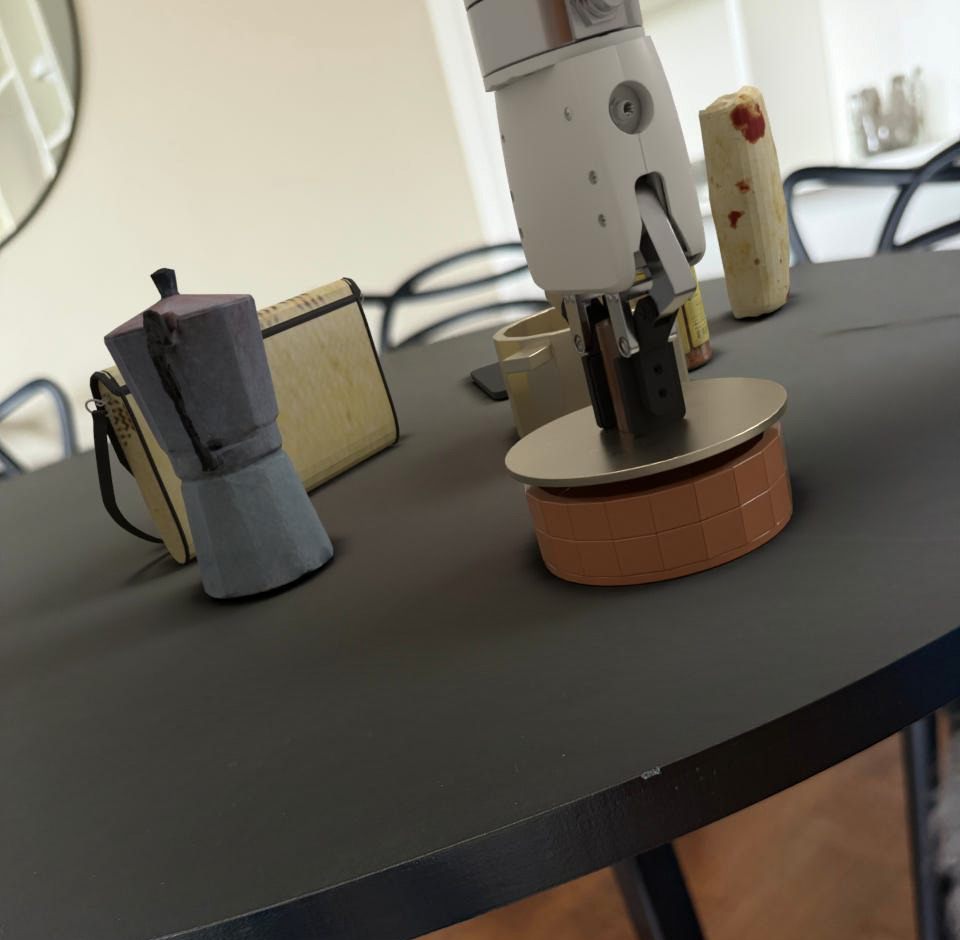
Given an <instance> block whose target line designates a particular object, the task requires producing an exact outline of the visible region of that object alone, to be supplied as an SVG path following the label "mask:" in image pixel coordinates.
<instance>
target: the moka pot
mask: <svg viewBox="0 0 960 940" xmlns="http://www.w3.org/2000/svg"><path fill="white" fill-rule="evenodd" d="M149 277H150V278H151V280H152V282H153V284H154V286H155V287H156V289H157V291H158V294H159V295H160V299H159V300H157V301H156V302H155V303H153V304H152V305H150V306H149V307H147V308H146V309H144V310H142V311H141V312H140V313H138V314H136V315H135V316H133V317H131V318H129V319H128V320H127V321H125V322H123V323H122V324H120V325H118V326H116V328H114V329H113V330H111V331H109V332H108V333H107V334H105V335H104V336H103V343H104V345H105V347H106V349H107V351H108V353H109V355H110V356H111V358H112V360H113V362H114V363H115V365H116V366H117V367H118V369H119V371H120V373H121V375H122V377H123V379H124V381H125V383H126V385H127V387H128V388H129V390H130V392H131V394H132V396H133V398H134V400H135V401H136V403H137V405H138V407H139V409H140V411H141V413H142V415H143V416H144V418H145V420H146V422H147V424H148V426H149V428H150V430H151V432H152V434H153V435H154V437H155V439H156V441H157V443H158V444H159V446H160V448H161V449H162V450H163V451H164V452H165V453H166V454H167V455H168V457H169V460H170V462H171V465H172V467H173V470H174V472H175V475H176V476H177V477H178V478H179V479H181V481H182V482H181V493H182V497H183V500H184V504H185V509H186V514H187V518H188V522H189V526H190V530H191V534H192V538H193V543H194V547H195V552H196V556H195V557H196V560H197V564H198V568H199V572H200V576H201V581H202V585H203V589H204V593H206V594H207V595H208V596H209V597H211V598H214V599H221V600H225V599H235V598H240V597H244V596H251V595H257V594H260V593H265V592H266V593H267V592H270V591H271V590H273V589H274V590H275V589H277V588H279V587H281V586H284V585H288V584H289V583H292V582H294V581H297V580H298V579H300V578H302V577H304V576H306V575H308V574H310V573H312V572H314V571H316V570H317V569H319V568H321V567H322V566H323V565H324V564H326V563H328V562H329V561H330V560H331V559H332V557H333V556H334V547H333V545H332V542H331V540H330V537H329V535H328V533H327V531H326V529H325V527H324V524H323V523H322V522H321V520H320V517H319V515H318V513H317V510H316V508H315V506H314V505H313V503H312V501H311V499H310V497H309V495H308V492H307V493H306V491H305V489H304V486H303V484H302V482H301V480H300V478H299V476H298V474H297V472H296V470H295V468H294V466H293V464H292V462H291V460H290V458H289V456H288V454H287V453H286V451H284V450H282V449H281V447H282V442H283V440H282V437H281V434H280V431H279V428H278V424H277V421H276V418H277V416H278V415H279V410H278V405H277V400H276V395H275V391H274V387H273V382H272V378H271V373H270V369H269V365H268V361H267V356H266V351H265V346H264V342H263V337H262V332H261V328H260V323H259V319H258V314H257V311H258V309H257V304H256V301H255V297H253V295H252V294H250V293H180V292H179V289H178V281H177V275H176V270H175V269H172V268H168V267H161V268H159V269H156V270H155V271H154V272H153V273H150V275H149Z"/></svg>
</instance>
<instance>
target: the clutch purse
mask: <svg viewBox="0 0 960 940" xmlns="http://www.w3.org/2000/svg"><path fill="white" fill-rule="evenodd" d="M361 297H362V298H361ZM360 299H361V300H360ZM364 300H365V296H364V293H363V292H362V290H361V288H360V287H359V286H358V284H357V283H356V281H354V279H352V278H350V277H346V276H345V277H344V276H343V277H342V278H341V279H338V280H335V281H332V282H330V283H327V284H325V285H322V286H319V287H317V288H314V289H312V290H308V291H306V292H303V293H301V294H298V295H295V296H293V297H290V298H287V299H285V300H282V301H279V302H277V303H274V304H272V305H270V306H267V307H264V308H261V309H259V310H257V314H258V319H259V323H260V328H261V332H262V337H263V342H264V346H265V351H266V356H267V361H268V365H269V369H270V373H271V378H272V382H273V387H274V391H275V395H276V400H277V405H278V410H279V415H278V416H277V418H276V421H277V424H278V428H279V431H280V434H281V437H282V440H283V442H282V447H281V449H282V450H284V451H286V453H287V454H288V456H289V458H290V460H291V462H292V464H293V466H294V468H295V470H296V472H297V474H298V476H299V478H300V480H301V482H302V484H303V486H304V489H305V491H306V493H307V494H308V493H309V492H311V491H312V490H314V489H316V488H317V487H320V485H321V486H322V484H324V483H326V482H328V481H329V480H331V479H333V478H335V477H337V476H338V475H340V474H342V473H344V472H345V471H347V470H348V469H351V468H352V467H354V466H356V465H358V464H359V463H361V462H363V461H365V460H366V459H368V458H369V457H371V456H373V455H375V454H377V453H378V452H381V451H382V450H383V449H385V448H387V447H388V446H391V445H393V446H394V445H396V444H398V442H399V440H400V436H401V435H400V425H399V418H398V416H397V411H396V408H395V405H394V401H393V398H392V394H391V391H390V388H389V385H388V382H387V380H386V376H385V373H384V370H383V367H382V363H381V361H380V357H379V354H378V351H377V348H376V344H375V341H374V337H373V335H372V331H371V329H370V326H369V322H368V319H367V316H366V313H365V311H364V307H363V304H364ZM89 388H90V393H91V396H92V398H90V399H87V400H86V401H85V402H84V408H85V410H86V411H87V412H88V413H89V414H91V418H92V435H93V436H92V437H93V445H94V454H95V463H96V470H97V478H98V483H99V484H98V485H99V489H100V495H101V499H102V504H103V507H104V508H105V510H106V512H107V513H108V515H109V516H110V517H111V519H112V520H113V521H114V522H115V523H116V525H118V526H119V527H120V528H122V529H123V530H124V531H126V532H127V533H129V534H130V535H133V536H134V537H137V538H139V539H141V540H143V541H146V542H149V543H153V544H160V545H161V544H162V545H163V544H164V545H165V547H166V549H167V550H168V552H169V553H170V555H171V556H172V557H173V559H174V560H175V561H176V562H178V563H179V564H181V565H183V566H186V565H187V564H189V563H190V562H191V561H190V560H192V559H193V558H195V557H197V556H196V552H195V547H194V543H193V538H192V534H191V530H190V526H189V522H188V518H187V514H186V509H185V504H184V500H183V497H182V493H181V482H182V481H181V479H179V478H178V477H177V476H176V475H175V472H174V470H173V467H172V465H171V462H170V460H169V457H168V455H167V454H166V453H165V452H164V451H163V450H162V449H161V448H160V446H159V444H158V443H157V441H156V439H155V437H154V435H153V434H152V432H151V430H150V428H149V426H148V424H147V422H146V420H145V418H144V416H143V415H142V413H141V411H140V409H139V407H138V405H137V403H136V401H135V400H134V398H133V396H132V394H131V392H130V390H129V388H128V387H127V385H126V383H125V381H124V379H123V377H122V375H121V373H120V371H119V369H118V367H117V366H116V364H115V365H112V366H109V367H106V368H104V369H101V370H99V371H98V370H97V371H94V372H93V373H92V374H91V376H90V377H89ZM91 402H93V403H94V405H95V408H96V409H93V410H91V409H90V408H89V407H88V404H89V403H91ZM108 439H109V440H108ZM109 441H110V444H111V446H112V449H113V451H114V453H115V455H116V458H117V459H118V462H119V464H121V466H122V467H123V468H124V469H125V470H126V471H127V472H128V473H129V474H130V475H131V476H132V477H133V478H134V479H135V481H136V484H137V487H138V489H139V490H140V493H141V495H142V498H143V500H144V502H145V505H146V507H147V509H148V511H149V514H150V516H151V519H152V521H153V523H154V525H155V527H156V529H157V532H158V534H159V536H160V537H156V536H153V535H151V534H148V533H146V532H144V531H143V530H140V529H139V528H137V527H136V526H134V525H133V524H131V523H130V522H129V521H128V519H126V517H125V516H124V514H123V512H121V510H120V508H119V506H118V504H117V501H116V495H115V488H114V482H113V476H112V468H111V460H110V450H109V449H110V448H109Z"/></svg>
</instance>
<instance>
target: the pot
mask: <svg viewBox="0 0 960 940" xmlns="http://www.w3.org/2000/svg"><path fill="white" fill-rule="evenodd" d="M646 296H647V295H646V294H645V295H643V296H640V297H637V298H634V299H632V300H629V302H630V307H631V311H632V312H634V310H635V307H636V304H637V301H638V300H639V299H641V298H644V297H646ZM598 299H599V300H600V302H601V303H602V305H603V301H602V296H600V297H598ZM675 322H676V327H677V338H676V339H675V340H674V341H673V346H674V351H675V356H676V361H677V366H678V371H679V376H680V382H681V383H682V382H689V381H691V380H690V376H689V371H688V370H687V365H686V360H685V354H684V349H683V344H682V339H681V334H680V329H679V323H678V318H677V317H676V319H675ZM492 341H493V345H494V348H495V352H496V356H497V360H498V362H499V364H500V367H501V371H502V375H503V379H504V382H505V386H506V390H507V393H508V397H507V398H508V400H509V404H510V408H511V412H512V415H513V419H514V423H515V427H516V430H517V434H518V437H519V438H520V440H521V439H523V438H524V437H525V436H527V435H528V434H530V433H532V432H533V431H535V430H537V429H538V428H540V427H542V426H544V425H546V424H548V423H550V422H552V421H554V420H556V419H558V418H561V417H563V416H565V415H568V414H570V413H573V412H575V411H578V410H580V409H583V408H586V407H588V406H591V405H592V402H591V398H590V394H589V390H588V385H587V381H586V377H585V372H584V368H583V364H582V360H581V357H582V356H584V355H587V354H588V353H586V354H583V355H580V354H578V353H577V351H576V350H575V348H574V345H573V341H572V336H571V331H570V327H569V324H568V323H567V321H566V320H565V318H564V317H563V316H562V314H561V312H560V311H559V310H557V309H556V308H555V307H554V306H552V307H548V308H546V309H543V310H540V311H538V312H535V313H532V314H530V315H527V316H525V317H521V318H519V319H517V320H515V321H514V322H512V323H509V324H508V325H506V326H503V327H501V328H500V329H499V330H498V331H497V332H496V333H495V334H494V335H492Z"/></svg>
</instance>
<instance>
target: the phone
mask: <svg viewBox="0 0 960 940" xmlns="http://www.w3.org/2000/svg"><path fill="white" fill-rule="evenodd" d="M469 374H470V378H471V380H472V381H473V382H474V383H475V384H476V385H478V386H479V387H480V388H482V390H483V391H485V392H486V393H487V394H488V395H489V396H490V397H491V398H493V399H495V400H501V399H505V398H509V397H508V393H507V390H506V386H505V382H504V379H503V375H502V371H501V367H500V364H499V361H498V362H495V363H491V364H489V365H485V366H481V367H479V368H475V369H473V370H471V371H470V373H469Z"/></svg>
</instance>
